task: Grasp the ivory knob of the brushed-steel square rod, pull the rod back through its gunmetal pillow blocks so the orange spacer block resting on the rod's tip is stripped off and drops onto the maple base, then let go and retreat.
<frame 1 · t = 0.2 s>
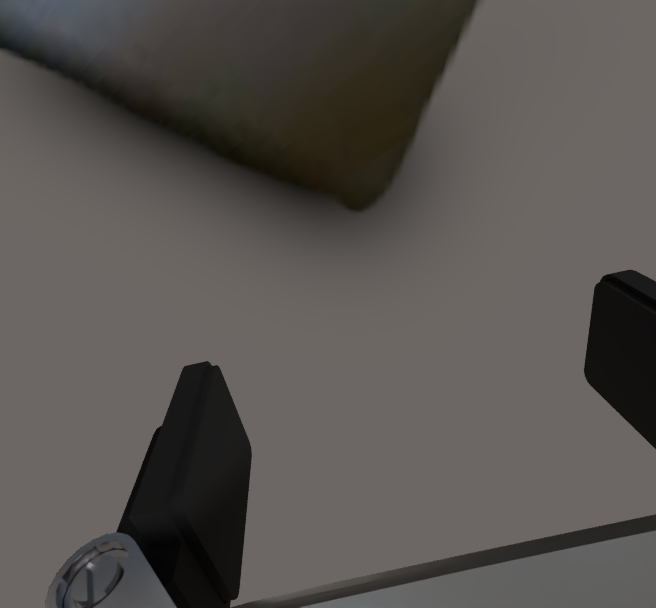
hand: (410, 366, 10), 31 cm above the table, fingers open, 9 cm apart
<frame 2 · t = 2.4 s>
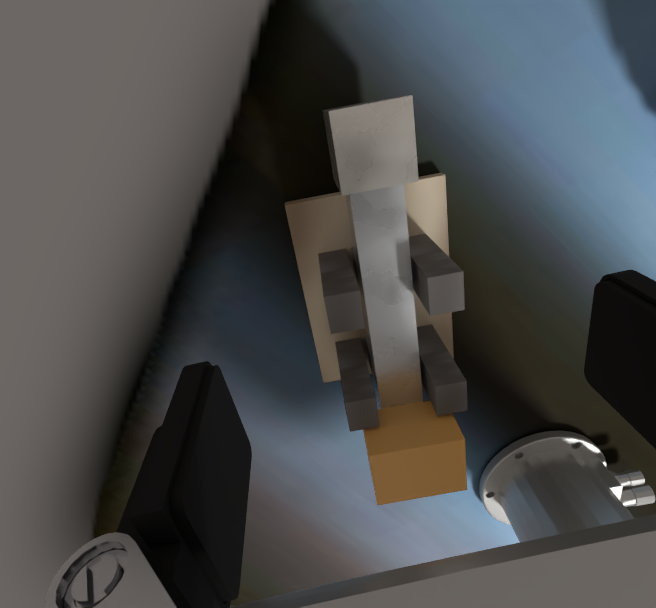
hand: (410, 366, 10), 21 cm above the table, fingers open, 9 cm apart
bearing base: (376, 290, 32), on the table
shaft: (387, 306, 27), point 5 cm above the table, slide at 0.0 cm, touching spacer
spacer: (405, 429, 30), point 6 cm above the table, touching shaft
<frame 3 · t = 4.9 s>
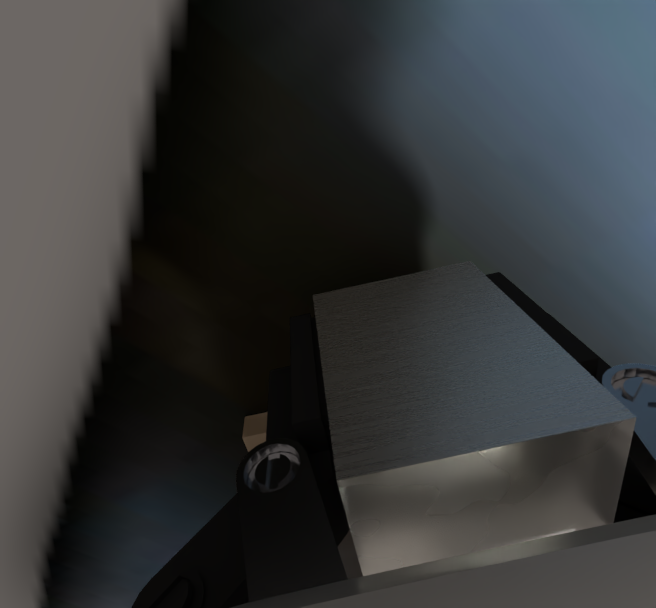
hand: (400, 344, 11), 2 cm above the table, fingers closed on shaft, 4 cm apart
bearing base: (415, 521, 18), on the table
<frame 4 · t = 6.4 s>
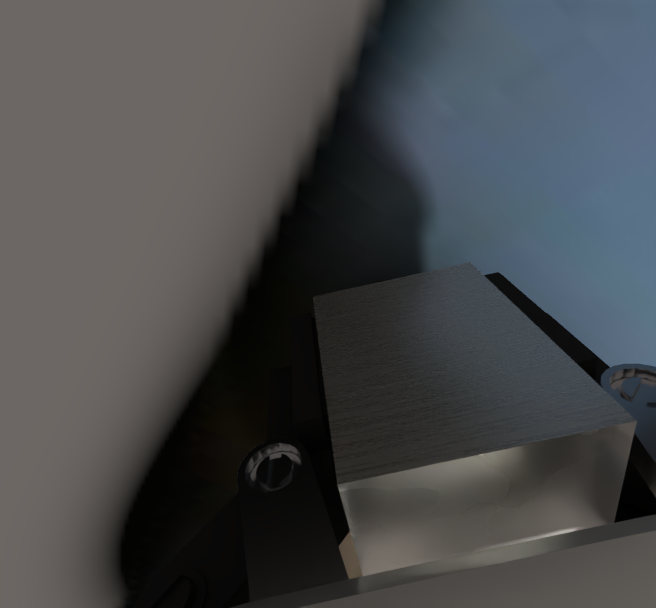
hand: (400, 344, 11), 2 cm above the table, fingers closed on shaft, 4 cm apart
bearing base: (426, 594, 22), on the table
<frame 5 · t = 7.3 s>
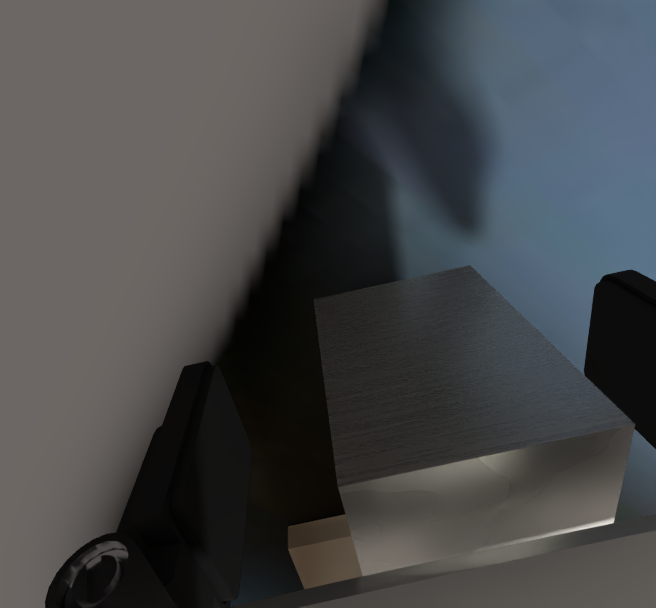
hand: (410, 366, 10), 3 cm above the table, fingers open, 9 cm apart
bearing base: (427, 597, 22), on the table
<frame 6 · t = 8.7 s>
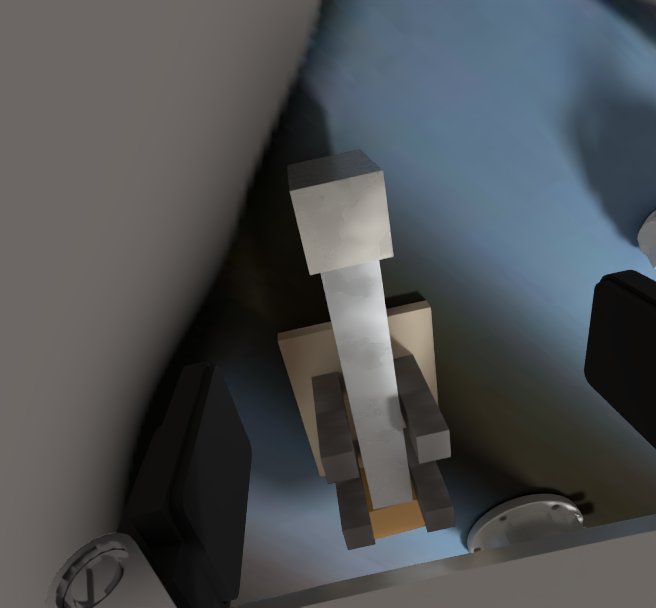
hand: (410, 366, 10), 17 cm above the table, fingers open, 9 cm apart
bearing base: (367, 397, 34), on the table
hand grenade: (652, 223, 29), on the table
shaft: (365, 365, 26), point 5 cm above the table, slide at 6.4 cm
spacer: (390, 481, 36), point 2 cm above the table, tilted 90°
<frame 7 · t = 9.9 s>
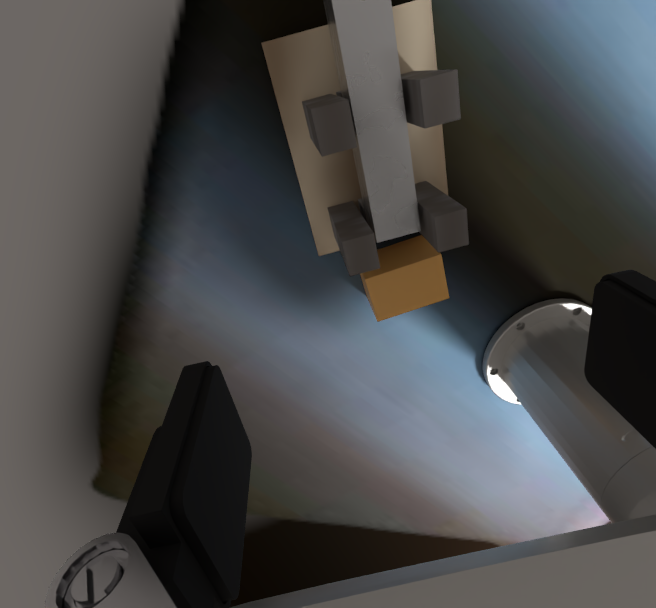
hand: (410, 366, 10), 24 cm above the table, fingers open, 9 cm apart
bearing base: (366, 147, 31), on the table
shaft: (359, 23, 23), point 5 cm above the table, slide at 6.4 cm
spacer: (395, 255, 33), point 2 cm above the table, tilted 90°
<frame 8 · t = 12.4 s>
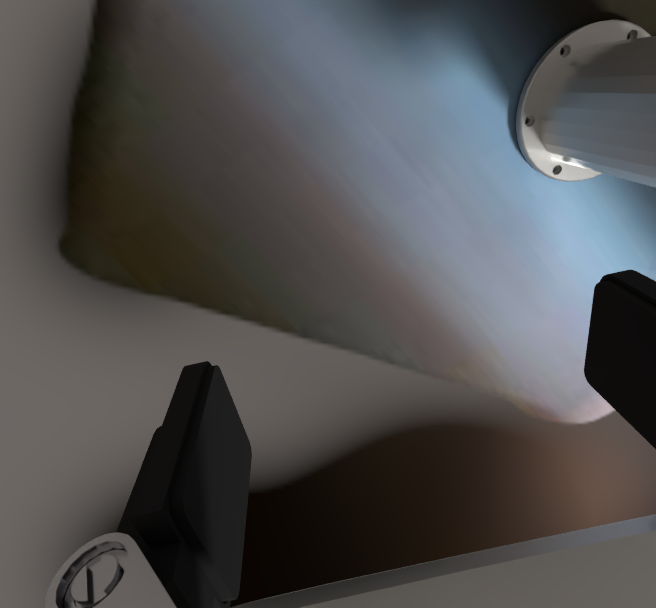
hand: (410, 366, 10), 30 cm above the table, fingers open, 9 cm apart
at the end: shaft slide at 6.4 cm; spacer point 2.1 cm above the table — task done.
